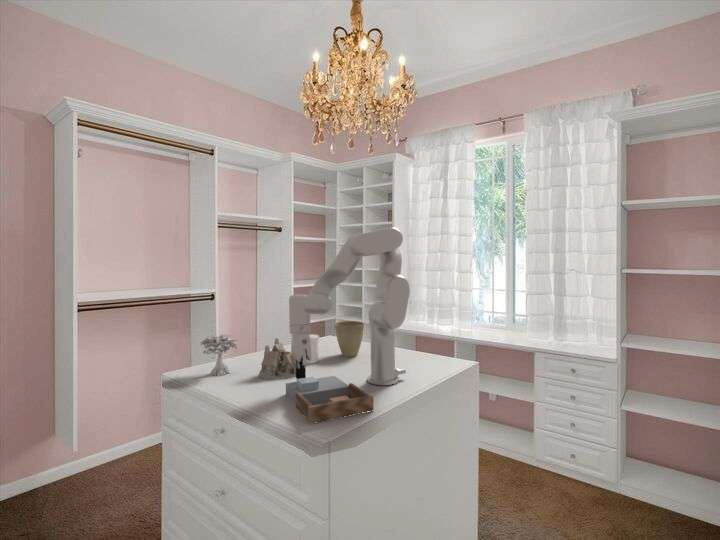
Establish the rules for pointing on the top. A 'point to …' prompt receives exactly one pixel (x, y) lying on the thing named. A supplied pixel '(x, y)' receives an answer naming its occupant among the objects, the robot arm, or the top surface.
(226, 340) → the tree
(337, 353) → the top surface
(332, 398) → the terracotta tile
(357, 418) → the top surface
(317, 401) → the grey flat block
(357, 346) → the plant pot
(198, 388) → the top surface
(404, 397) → the top surface
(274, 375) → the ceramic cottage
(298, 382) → the blue-grey tile
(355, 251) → the robot arm
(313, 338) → the candle holder
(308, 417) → the box
